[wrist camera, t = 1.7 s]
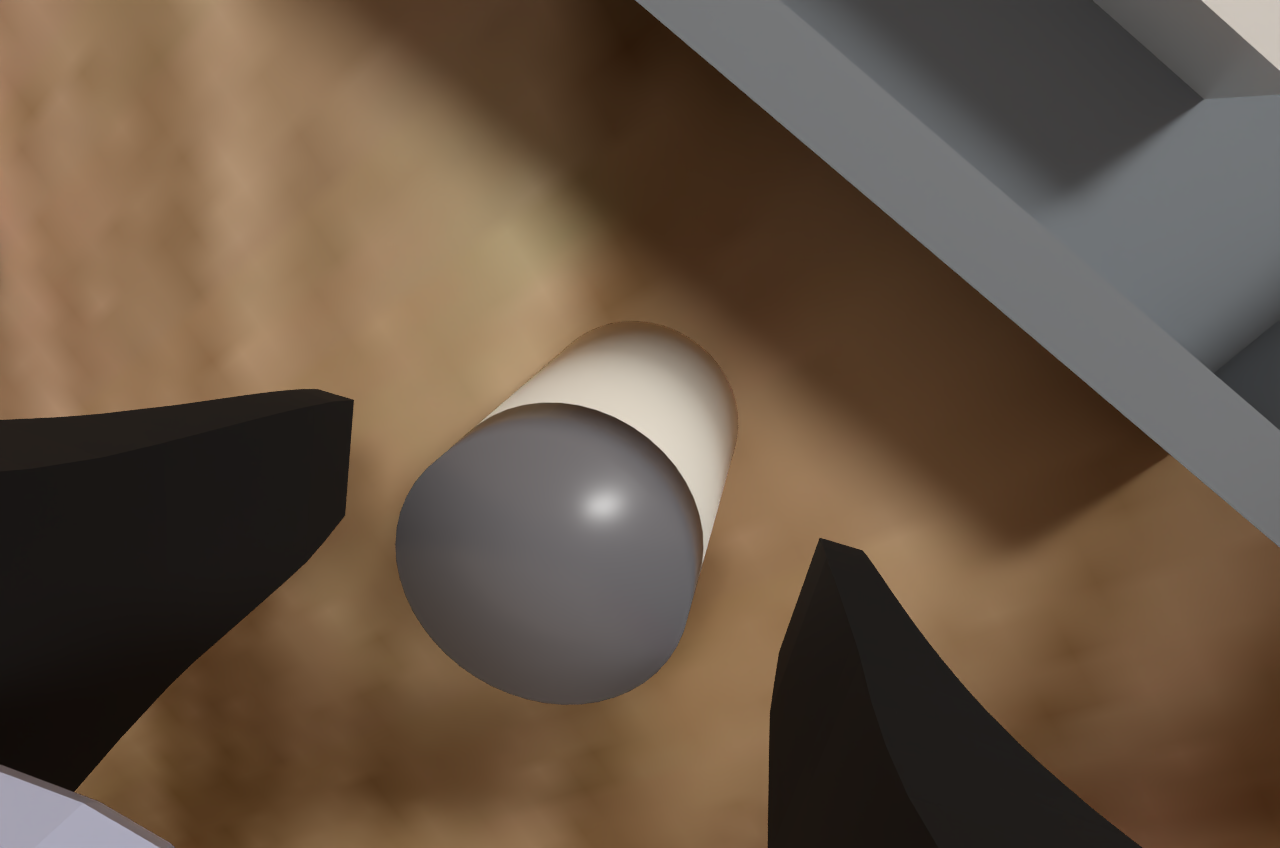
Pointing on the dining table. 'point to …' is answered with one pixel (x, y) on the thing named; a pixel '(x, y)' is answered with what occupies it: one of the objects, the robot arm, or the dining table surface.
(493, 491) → the connector peg
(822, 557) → the robot arm
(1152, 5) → the inlet socket
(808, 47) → the walled box
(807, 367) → the dining table surface
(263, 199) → the dining table surface
